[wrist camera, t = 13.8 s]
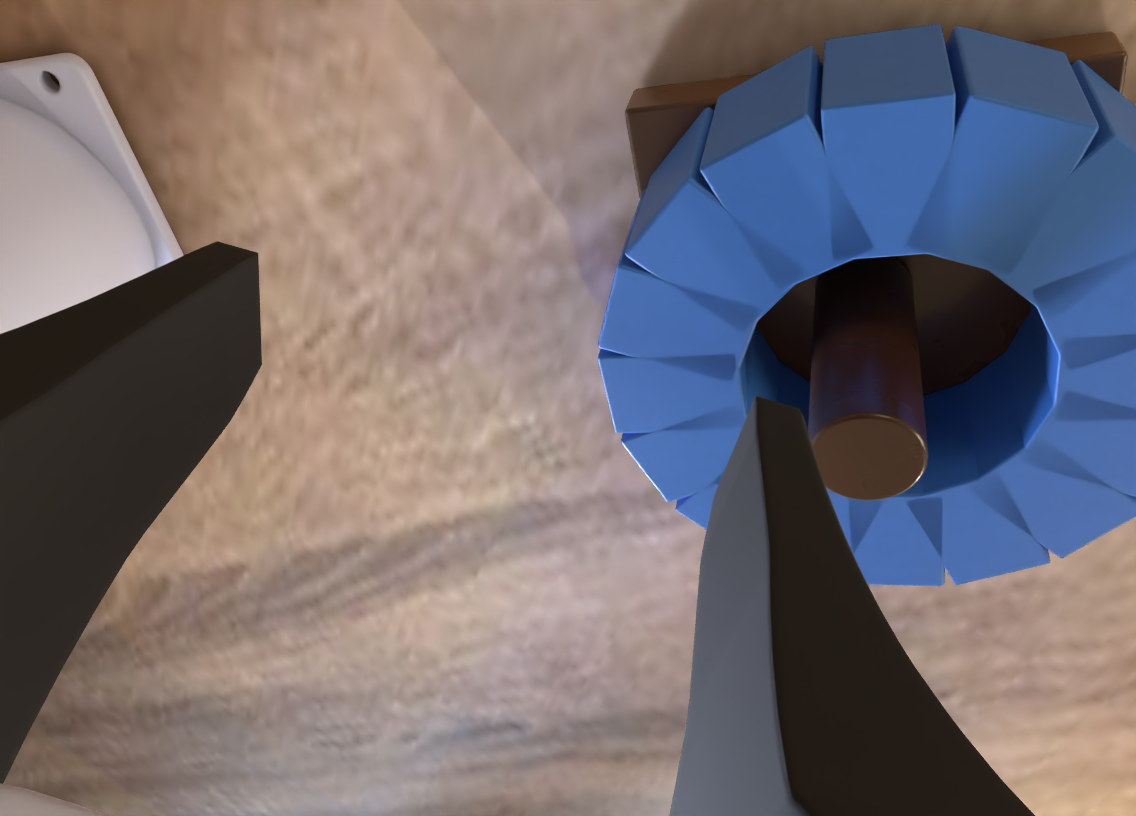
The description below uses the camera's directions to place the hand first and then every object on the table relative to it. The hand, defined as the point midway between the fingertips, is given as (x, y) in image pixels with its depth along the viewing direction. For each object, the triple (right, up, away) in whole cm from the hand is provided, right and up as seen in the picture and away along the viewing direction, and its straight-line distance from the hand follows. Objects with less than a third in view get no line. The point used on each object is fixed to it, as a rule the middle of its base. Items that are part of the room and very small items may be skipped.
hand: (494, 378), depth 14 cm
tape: (+8, +2, +7) cm, 11 cm away
